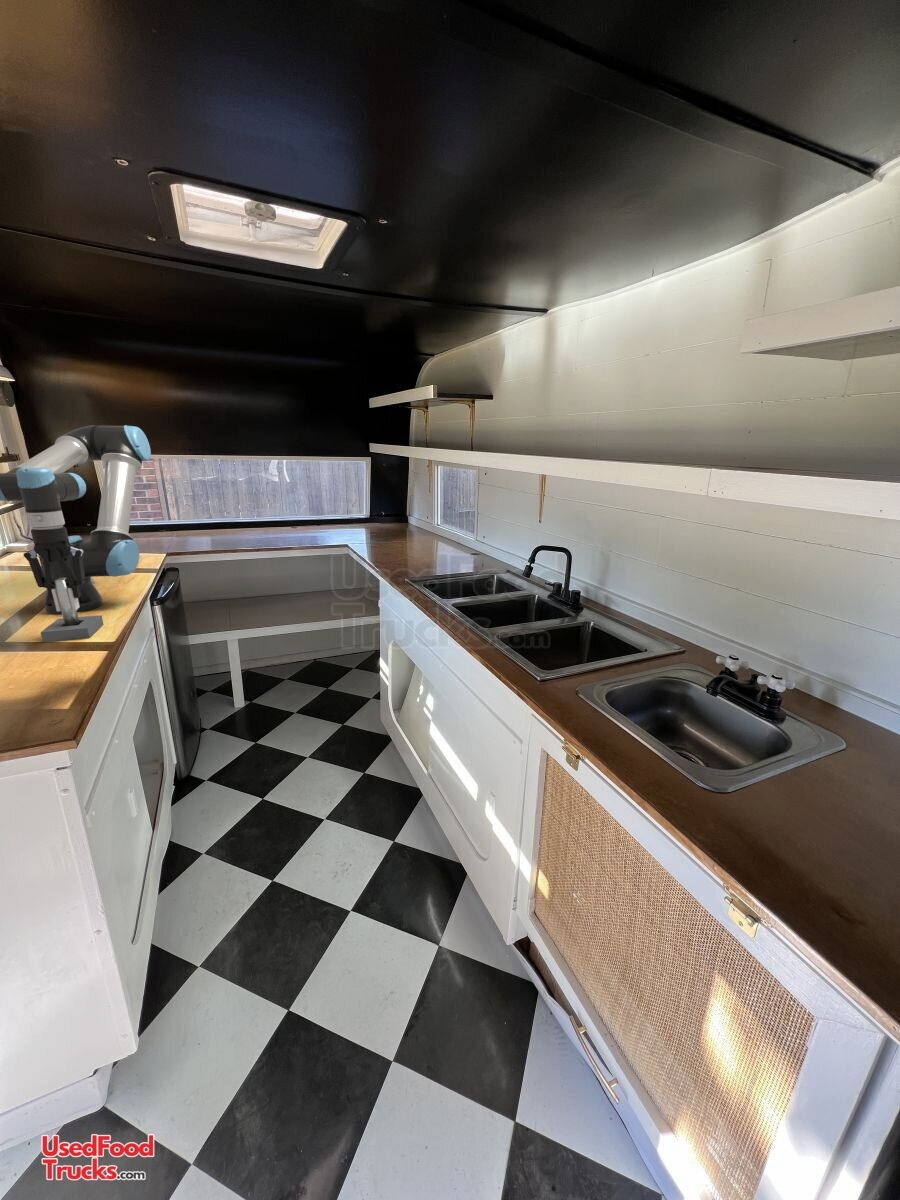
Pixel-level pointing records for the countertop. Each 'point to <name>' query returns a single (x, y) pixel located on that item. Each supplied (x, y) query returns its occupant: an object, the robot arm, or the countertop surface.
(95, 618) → the socket block
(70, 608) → the steel peg
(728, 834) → the countertop surface
